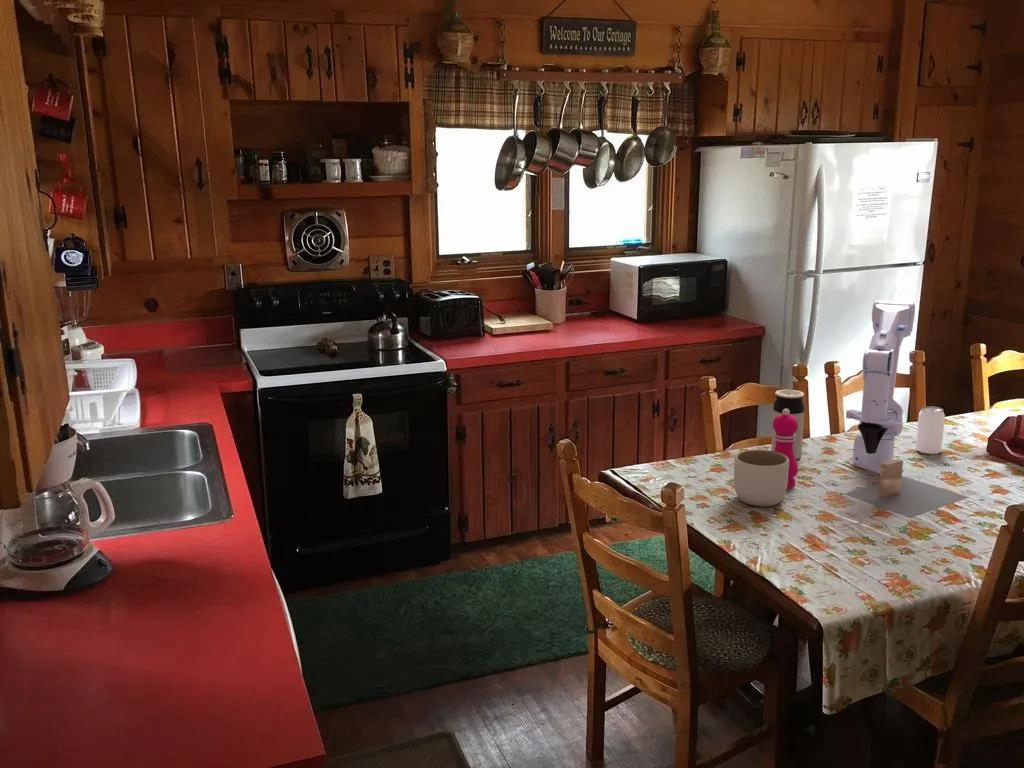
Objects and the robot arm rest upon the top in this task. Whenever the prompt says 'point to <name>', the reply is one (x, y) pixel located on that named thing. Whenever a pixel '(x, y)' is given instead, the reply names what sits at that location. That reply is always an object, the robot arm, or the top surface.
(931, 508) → the rubber mat
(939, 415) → the can
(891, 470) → the brown framed teal panel
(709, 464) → the top surface
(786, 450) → the pepper mill
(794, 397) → the travel mug
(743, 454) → the planter
